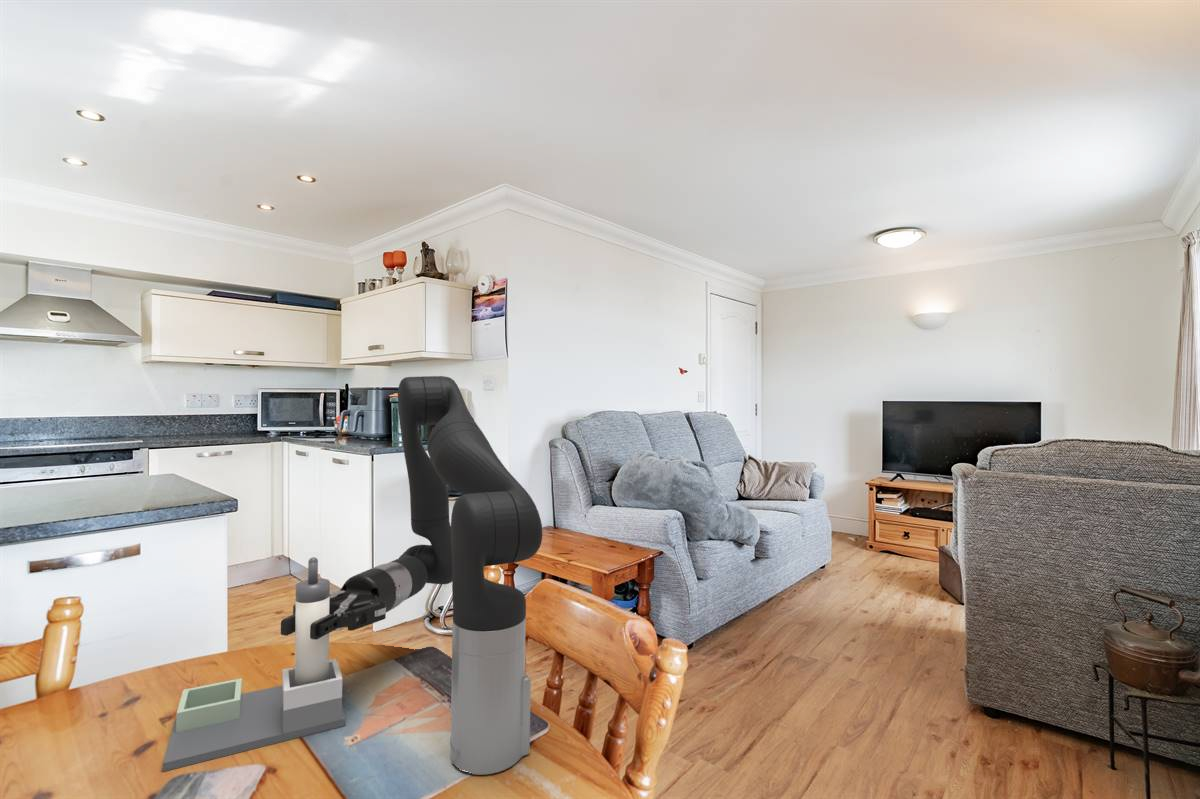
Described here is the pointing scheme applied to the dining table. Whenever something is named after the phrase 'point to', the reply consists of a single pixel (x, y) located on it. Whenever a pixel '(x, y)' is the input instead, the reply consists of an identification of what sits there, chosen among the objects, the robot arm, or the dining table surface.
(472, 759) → the robot arm
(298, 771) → the dining table surface
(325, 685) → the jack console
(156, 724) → the dining table surface
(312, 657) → the plug
